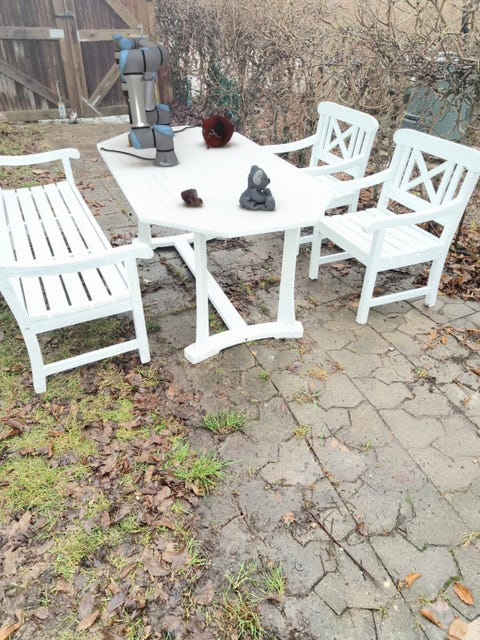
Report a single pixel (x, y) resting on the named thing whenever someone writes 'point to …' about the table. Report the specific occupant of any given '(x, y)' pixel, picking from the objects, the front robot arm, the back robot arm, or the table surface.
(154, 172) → the table surface
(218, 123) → the dark red rounded piece
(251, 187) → the koala plush
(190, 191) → the rock
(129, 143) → the block
